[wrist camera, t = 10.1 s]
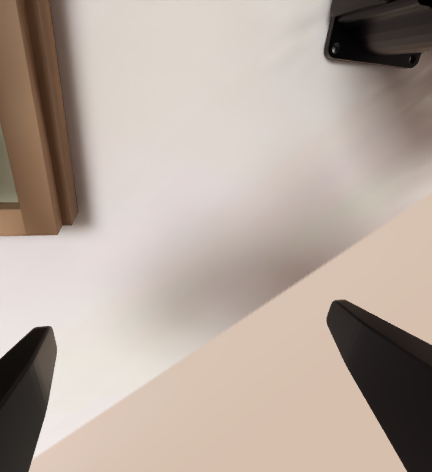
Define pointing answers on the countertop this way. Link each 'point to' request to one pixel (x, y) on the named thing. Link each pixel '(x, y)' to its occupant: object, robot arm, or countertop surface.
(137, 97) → the countertop surface
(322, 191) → the countertop surface
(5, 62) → the wooden picture frame
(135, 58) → the countertop surface
